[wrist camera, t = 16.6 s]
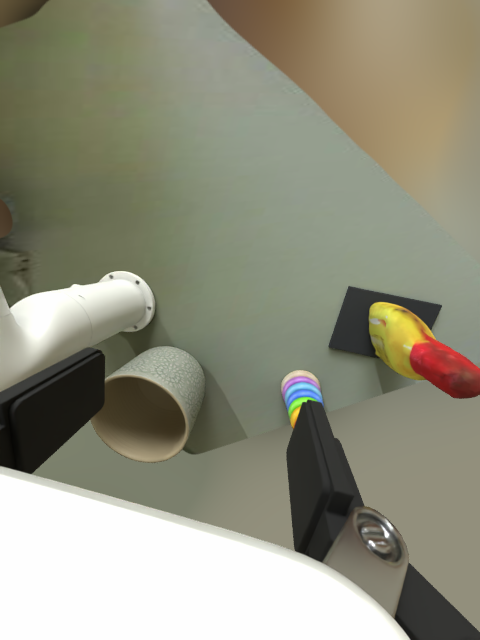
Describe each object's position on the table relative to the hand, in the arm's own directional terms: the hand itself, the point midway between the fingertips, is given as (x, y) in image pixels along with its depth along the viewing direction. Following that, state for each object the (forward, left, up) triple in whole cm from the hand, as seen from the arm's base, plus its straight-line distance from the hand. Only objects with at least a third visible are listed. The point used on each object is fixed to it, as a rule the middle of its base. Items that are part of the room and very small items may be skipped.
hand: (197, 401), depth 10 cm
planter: (-13, -22, -34) cm, 43 cm away
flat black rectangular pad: (+25, -2, -34) cm, 42 cm away
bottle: (+25, -2, -34) cm, 42 cm away
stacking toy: (+14, -18, -34) cm, 41 cm away
